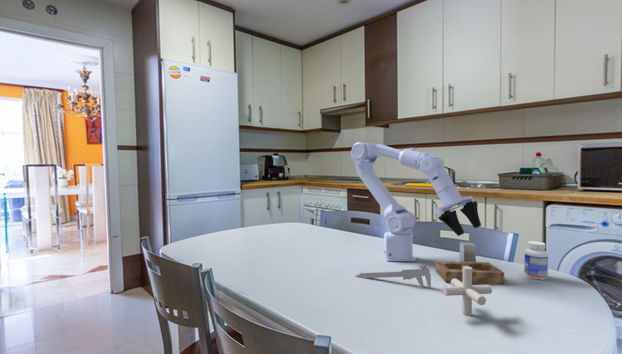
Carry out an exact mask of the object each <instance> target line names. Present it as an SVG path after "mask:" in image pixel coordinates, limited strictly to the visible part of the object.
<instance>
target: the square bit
mask: <svg viewBox="0 0 622 354" xmlns="http://www.w3.org/2000/svg"><path fill="white" fill-rule="evenodd" d="M476 260H477V245H476V244H475V243H473V242H471V241H469V242H467V241H466V242H463V241H460V242H459V262H477V261H476Z"/></svg>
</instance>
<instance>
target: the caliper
mask: <svg viewBox="0 0 622 354" xmlns="http://www.w3.org/2000/svg"><path fill="white" fill-rule="evenodd" d="M431 275H432V274H431V271H430V269H429V267H427V266H426V263H424V265H422V264H421V263H420V264H419V267H412V268H411V267H410V268H402V269H401V270H384V271H383V270H382V271H365V272H364V271H362V272H359V273H357V274H356V275H354V276H355V277H356V278H357V277H359V278H362V279H375V278H376V279H377V278H403V280H412V279H416V280H417V283H418V284H419V286H420V287H421V288H424V281H423V278H422V277H425V280H426V284H427V288H428V289H430V288H431V286H432V285H431V284H432V281H431V280H432V276H431Z"/></svg>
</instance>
